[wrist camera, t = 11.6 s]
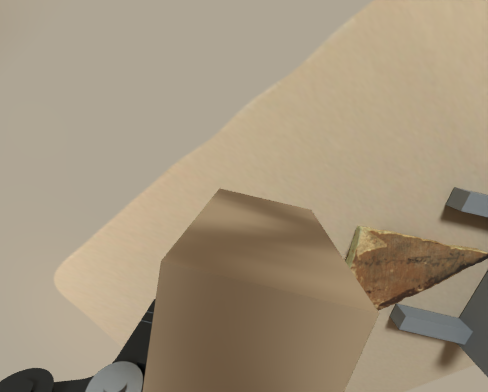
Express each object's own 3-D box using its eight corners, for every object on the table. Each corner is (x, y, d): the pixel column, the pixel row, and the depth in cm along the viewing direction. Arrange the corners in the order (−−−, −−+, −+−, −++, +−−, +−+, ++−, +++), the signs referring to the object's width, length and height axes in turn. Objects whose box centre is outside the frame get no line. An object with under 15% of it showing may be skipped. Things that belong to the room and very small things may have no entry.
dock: (550, 202, 18) (626, 222, 15) (464, 338, 22) (506, 381, 19) (457, 181, 18) (509, 195, 15) (387, 320, 22) (414, 360, 19)
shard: (478, 246, 20) (498, 257, 19) (439, 315, 22) (454, 331, 21) (356, 218, 20) (364, 227, 19) (329, 290, 23) (334, 304, 21)
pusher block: (311, 210, 10) (379, 313, 4) (256, 382, 13) (252, 595, 7) (219, 188, 10) (161, 261, 4) (184, 365, 13) (118, 559, 7)
